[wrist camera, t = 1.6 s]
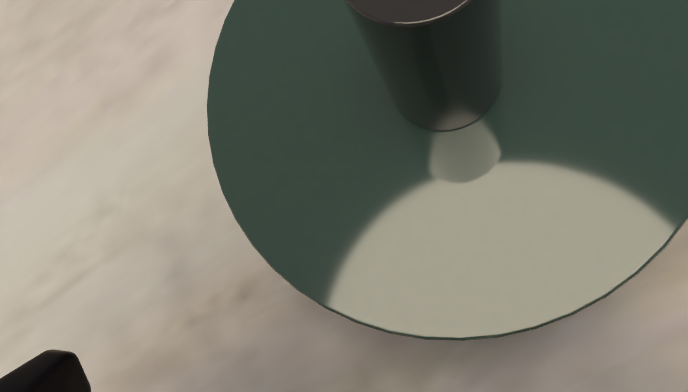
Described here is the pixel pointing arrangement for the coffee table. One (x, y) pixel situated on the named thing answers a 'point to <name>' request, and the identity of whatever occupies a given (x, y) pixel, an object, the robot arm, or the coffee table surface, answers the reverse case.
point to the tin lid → (453, 153)
